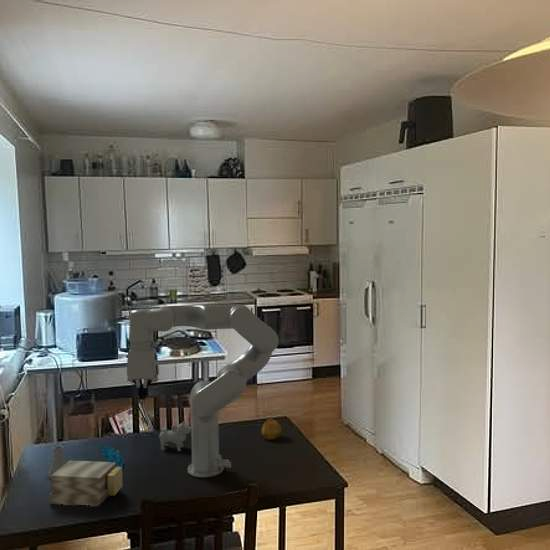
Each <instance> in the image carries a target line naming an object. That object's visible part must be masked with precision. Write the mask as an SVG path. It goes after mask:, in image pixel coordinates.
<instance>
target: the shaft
mask: <svg viewBox="0 0 550 550" xmlns="http://www.w3.org/2000/svg"><path fill="white" fill-rule="evenodd" d="M123 484H124V483H123V467H115V468H114V469H113V470H112V471H111V472H110V473H109V474H108V475H107V476H106V487H108V495H109V496H113V497H114V496H116V495H117V493H118V492H119V491H121V489H122V488H123V486H124V485H123Z"/></svg>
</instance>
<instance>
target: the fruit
mask: <svg viewBox="0 0 550 550" xmlns="http://www.w3.org/2000/svg"><path fill="white" fill-rule="evenodd" d="M281 433H282V426H281V425H280V423H279V422H278V421H277V420H275V419H273V418H267V419H266V421H265V422H264V423H263V424H262V427H261V435H262V437H263V438H265V439H266V440H276V439H278V438H279V436H280V435H281Z"/></svg>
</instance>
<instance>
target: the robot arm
mask: <svg viewBox="0 0 550 550" xmlns="http://www.w3.org/2000/svg"><path fill="white" fill-rule="evenodd" d="M173 327H193V328H196V329H200V330H205V331H209V330H226V329H227V330H229V329H230V330H234V331H236V333H237V334H238V335H240V336H241V337H242V338H243V339H244V340H246V341H247V342H248V343H249V344H250V346H249V347H248V349H246V351H245V352H243V354H241V355H240V356H238V357H236V358H235V359H234V360H233V361H231V362H229V363H228V364H226V365H225V366H223V367H221V369H219V370H218V372H217V375H216V378H215V379H214V380H213V381H212V382H211V381H208V380H201V381H198V382H197V383H195V384H194V385H193V387H192V389H191V390H190V394H189V395H190V398H189V399H190V425H191V426H190V427H191V431H190V433H191V437H190V438H191V463H190V464H189V465H188V467H187V474H189V475H191V476H192V477H196V478H211V477H216V476H218V475H220V474H221V473H222V472H224V468H228V469H230V468H232V462H231V461H230V460H229V459H223V458H222V454H220V446H219V445H220V438H219V435H220V434H219V429H220V426H219V423H220V422H219V412H220V411H221V410H222V409H224V408H226V407H227V406H228V405H230V404H232V403H233V402H234V401H235V400H237V399H238V398H239V397H241V395H243V394H244V392H245V389H246V387H247V381H250V379H252V378H253V377H255V375H257V374H258V373H259V372H261V371H262V370H263V369H264V368H265V367H266V366H267V365H268V363H269V361H270V359H271V357H272V354H273V352H274V351H275V350H276V349H277V347H278V345H279V336H278V334H277V332H276V331H275V330H274V329H273V328H272V327H271V326H269V325H268V324H266V323H265V322H264V321H262V320H261V318H259V317H258V316H257V315H256V314H255V313H254V312H253V311H252V310H251V309H250V308H249V307H248V306H246V305H244V304H239V303H237V304H235V303H234V304H233V303H231V304H214V305H213V304H211V305H210V304H209V305H208V304H207V305H204V304H202V305H166V306H165V305H164V306H161V307H159V308H158V309H156V310H150V309H147V308H145V309H144V308H140V309H134V310H131V311H130V313H129V331H130V334H129V335H130V337H129V339H130V349H129V350H128V353H127V362H126V376H127V379H126V381H127V382H130V383H133V384H134V385H135V386H136V388H137V393H138V394H137V397H138V399H139V400H142V401H143V400H145V399H147V397H148V396H149V386H150V385H151V384H154V383H157V382H158V381H159V377H158V376H159V375H160V368H159V367H160V366H159V359H158V353H157V350H156V349H157V348H155V347H158V342H155V341H154V331H155V332H169V331H170V330H171V329H173Z"/></svg>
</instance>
